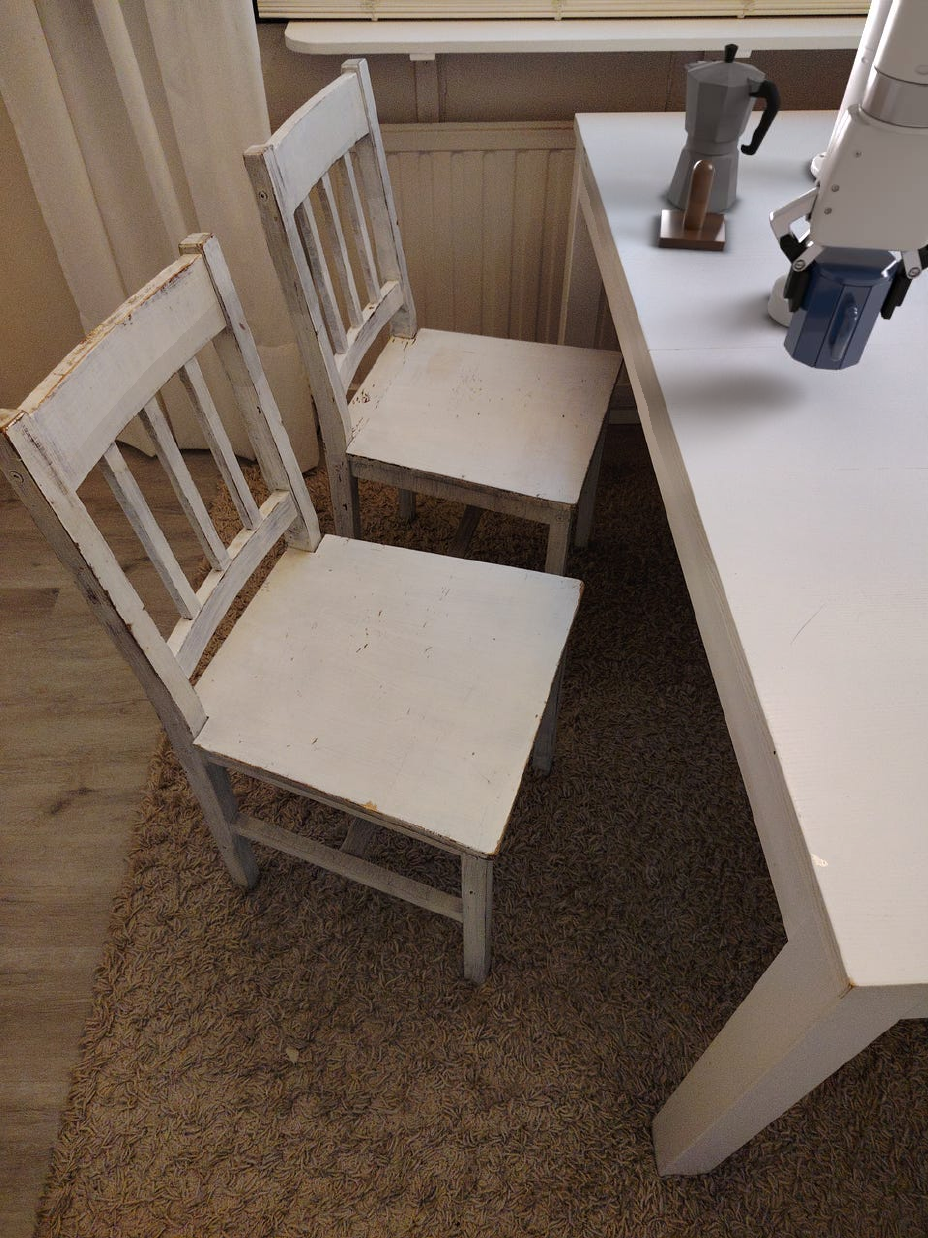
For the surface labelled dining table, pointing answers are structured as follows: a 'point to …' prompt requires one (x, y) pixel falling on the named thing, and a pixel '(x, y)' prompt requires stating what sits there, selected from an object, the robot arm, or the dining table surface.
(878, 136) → the robot arm
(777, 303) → the wall hook
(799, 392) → the dining table surface
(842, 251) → the cup
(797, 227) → the dining table surface
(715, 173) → the coffeepot
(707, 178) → the cup stand
